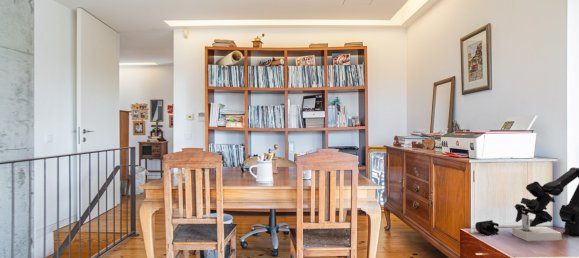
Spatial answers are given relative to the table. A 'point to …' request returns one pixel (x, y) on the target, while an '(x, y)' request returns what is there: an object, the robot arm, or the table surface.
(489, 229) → the end cap
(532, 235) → the hole plate
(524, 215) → the long pin
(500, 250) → the table surface
